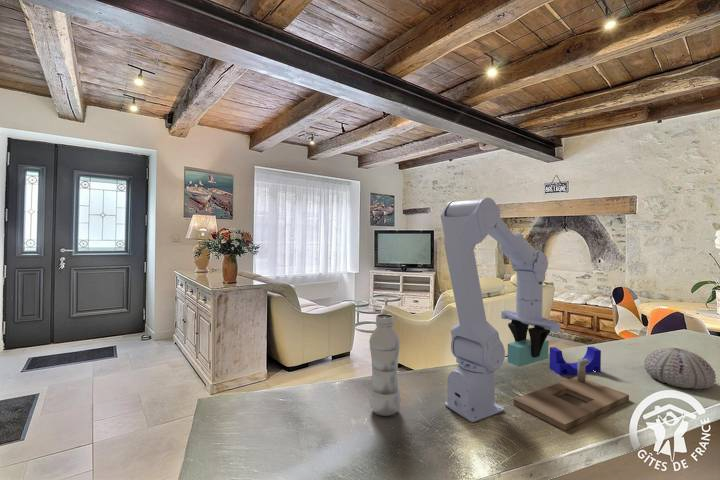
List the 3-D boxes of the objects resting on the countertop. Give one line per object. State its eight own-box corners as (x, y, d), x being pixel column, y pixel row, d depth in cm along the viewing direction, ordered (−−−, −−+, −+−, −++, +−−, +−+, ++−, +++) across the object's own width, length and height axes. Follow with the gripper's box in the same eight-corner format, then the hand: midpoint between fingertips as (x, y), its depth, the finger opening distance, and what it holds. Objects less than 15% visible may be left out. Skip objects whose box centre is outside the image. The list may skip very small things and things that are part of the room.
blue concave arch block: (559, 375, 89) (559, 353, 88) (549, 368, 93) (549, 347, 93) (604, 375, 89) (605, 352, 89) (592, 368, 93) (592, 346, 93)
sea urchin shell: (732, 391, 80) (733, 357, 80) (685, 396, 78) (685, 361, 77) (671, 368, 93) (672, 339, 93) (629, 372, 91) (630, 342, 90)
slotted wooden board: (564, 430, 64) (565, 398, 64) (513, 404, 74) (513, 376, 73) (630, 399, 76) (630, 372, 75) (578, 380, 85) (579, 356, 85)
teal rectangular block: (519, 366, 79) (519, 347, 79) (507, 362, 82) (507, 343, 82) (548, 358, 85) (548, 340, 85) (536, 354, 88) (536, 336, 87)
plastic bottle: (375, 422, 67) (374, 321, 66) (365, 405, 73) (365, 313, 73) (405, 417, 68) (405, 319, 68) (393, 401, 75) (393, 311, 74)
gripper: (568, 302, 79) (568, 360, 79) (514, 292, 91) (513, 342, 92) (550, 305, 75) (549, 366, 76) (496, 295, 88) (495, 347, 88)
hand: (528, 354), depth 83 cm, fingers closed on teal rectangular block, 3 cm apart
